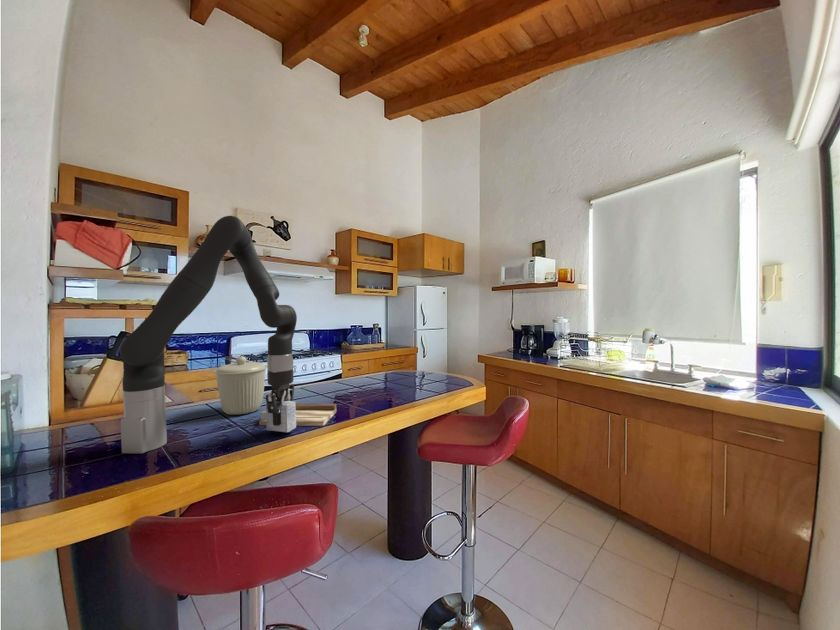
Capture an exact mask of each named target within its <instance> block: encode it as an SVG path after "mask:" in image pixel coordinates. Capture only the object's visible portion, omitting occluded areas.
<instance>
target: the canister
mask: <svg viewBox="0 0 840 630" xmlns="http://www.w3.org/2000/svg"><path fill="white" fill-rule="evenodd" d="M266 371H267V365H266V364H264V363H262V362H258V361H257V362H256V361H247V358H246V357H245V356H238V357H237V358H235V363H229V364H224V365H221V366H219V367H218V368H216V369H214V371H213V373H214V374H215V377H216V383H217V391H218V395H219V400H220V402H219V403H220V405H221V406H220V407H221V409H222V411H223V413H225V414H227V415H229V416H232V415H233V416H239V415H247V414H251V413H254V412H255V411H258V410H260V408H261V407H262V405H263V403H264V402H263V401H264V391H265V383H266V382H265V381H266Z"/></svg>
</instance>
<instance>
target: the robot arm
mask: <svg viewBox="0 0 840 630" xmlns="http://www.w3.org/2000/svg"><path fill="white" fill-rule="evenodd" d="M248 229H249V228H247V227H246V225H245V224H244V222H243V221H242V220H241V219H240V218H239V217H237V216H234V215H226V216H223V217H221V218H219V219H218V220H217V221H215V223H214V224H213V226H212V227H211V229H209V232H208V233H207V235H206V237H205V238H204V240H203V241H202V243H201V244H200V245H199V247H198V248H197V250H196V251H195V252H194V254H193V255H192V256H191V258H189V260H188V261H187V263H186V264H185V265H184V266H183V268H182V269H181V270H180V271H179V272H178V273H177V275H176V276H175V277H174V278H173V279H172V280H171V281H170V283H169V285H168V286H167V287H166V289H165V290H164V292H163V293H162V294H161V296H160V297H159V299H158V301H157V302H156V304H155V306H154V308H153V309H152V310H151V312H150V313H149V315H148V316H147V317H146V318H145V319H144V320H143V321H142V322H141V323H140V324H139V325H138V326H137V327H136V328H135V329H134V330H133V331H132V332H131V333H130V334H129V335H128V336H127V337H125V339H123V340H122V342H121V343H120V346H119V354H120V357H121V359H122V363H123V373H122V375H123V376H122V399H123V401H122V403H123V404H122V405H123V417H122V418H121V419H120V439H121V440H120V442H121V443H120V444H121V454H144V453H146V452H149V451H150V452H151V451H153V450H156V449H160V448H161V447H163V446H165V445H166V444H167V442H168V439H167V437H168V436H167V434H168V433H167V414H166V413H167V412H166V388H165V387H166V386H165V384H166V383H165V379H166V378H165V375H166V371H165V370H166V369H165V348H166V346H167V344H168V342H170V341H169V340H170V339H171V337H172V336H173V334H174V333H175V331H176V330H177V329H178V327H179V326H180V325H181V324H182V323H183V322H184V321H185V320H186V319H187V318H188V317H189V316H190V315H191V314H192V313H193V312H194V311H195V309H196V308H197V307H198V306H199V305H200V304H201V303H202V301H203V300H204V299H205V298H206V296H207V295H208V294H209V293H210V291H211V290H212V287H213V286H214V283H215V280H216V277H217V274H218V269H219V266H220V264H221V261H222V260H223V258H224V257H225V256H226V254H227V252H229V253H230V254H231V255H232V257H234V258H235V259H236V261H237V262H238V264H239V266H240V268H241V270H242V273H243V275H244V278H245V281H246V284H247V285H248V286H249V289H250V290H251V292H252V295H253V296H254V297H255V299H256V301H257V302H256V303H257V307H258V312H259V313H258V314H259V317H260V319H261V320H262V322H263V323H264V324H265V326H267V328H276V330H275V333H274V334H273V335H271V336H269V337H268V338H267V339H268V340H267V360H266V363H267V365H266V366H267V369H266V371H267V373H266V374H267V378H266V379H267V385H269V386H271V391H270V394H266V395H265V402H266V403H265V404H267V409H268V413H272V414H273V425H274V426H279V425H280V424H281V413H280V412H281V406H282V405H283V403H284V400H285V401H294V394H295V393H294V392H295V385H294V384H293V382H294V358H293V338H294V334H295V330H296V327H297V326H296V325H297V319H298V318H297V312H296V310H295V308H294V307H293V306H291V305H289V304H277V302H276V301H277V300H278V299H279V298H280V291H279V289H278V287H277V285H276V284H275V282H274V280H273V278H272V277H271V275H270V273H269V272H268V270H267V269H266V267H265V266H264V264H263V263H262V261H261V259H260V257H259V255H258V253H257V250H256V248H255V245H254V241H253V239H252V236H251V233H250V231H249V230H248ZM277 402H279V403H277ZM277 405H278V409H277ZM271 407H272V409H271Z"/></svg>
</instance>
